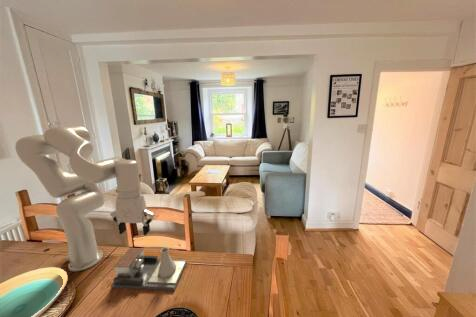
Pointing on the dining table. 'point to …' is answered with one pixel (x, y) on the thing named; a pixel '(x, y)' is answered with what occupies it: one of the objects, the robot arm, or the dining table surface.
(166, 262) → the flask
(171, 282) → the press base
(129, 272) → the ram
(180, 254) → the dining table surface
